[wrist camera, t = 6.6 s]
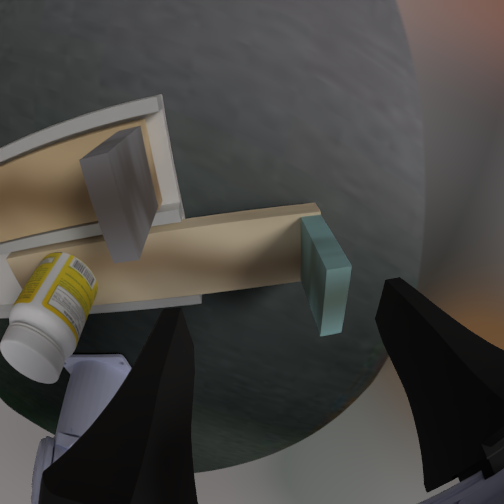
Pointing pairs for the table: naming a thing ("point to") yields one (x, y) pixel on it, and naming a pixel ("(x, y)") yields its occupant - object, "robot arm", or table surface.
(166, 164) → the lane board
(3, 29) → the table surface
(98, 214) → the gray handled wooden slider
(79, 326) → the supplement bottle
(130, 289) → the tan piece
